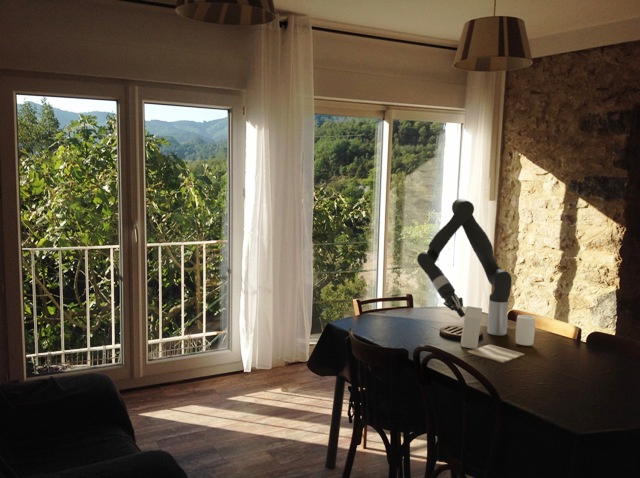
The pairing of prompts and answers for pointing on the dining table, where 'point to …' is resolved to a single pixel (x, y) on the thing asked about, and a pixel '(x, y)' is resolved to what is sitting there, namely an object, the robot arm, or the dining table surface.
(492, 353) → the birch board
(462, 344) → the milk carton
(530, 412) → the dining table surface
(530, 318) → the cup
